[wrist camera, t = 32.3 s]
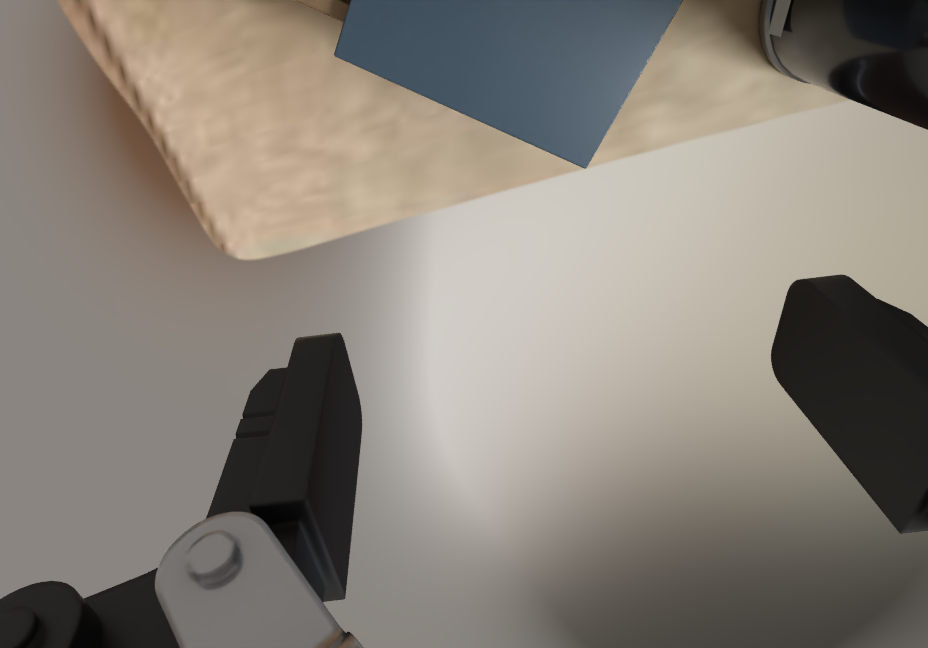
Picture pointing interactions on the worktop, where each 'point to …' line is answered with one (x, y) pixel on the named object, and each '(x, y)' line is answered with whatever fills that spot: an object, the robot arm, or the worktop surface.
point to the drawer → (329, 7)
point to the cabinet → (514, 60)
